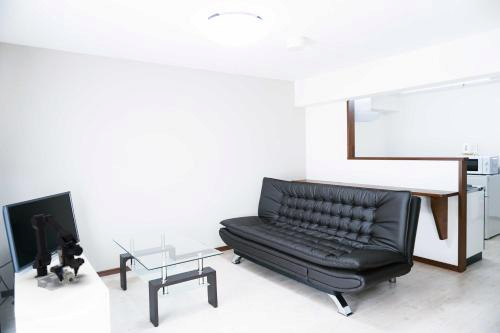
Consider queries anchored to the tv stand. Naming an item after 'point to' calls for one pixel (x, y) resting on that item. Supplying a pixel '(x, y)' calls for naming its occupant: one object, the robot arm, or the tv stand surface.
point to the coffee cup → (59, 254)
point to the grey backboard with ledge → (53, 281)
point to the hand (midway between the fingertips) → (68, 278)
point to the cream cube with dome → (68, 277)
